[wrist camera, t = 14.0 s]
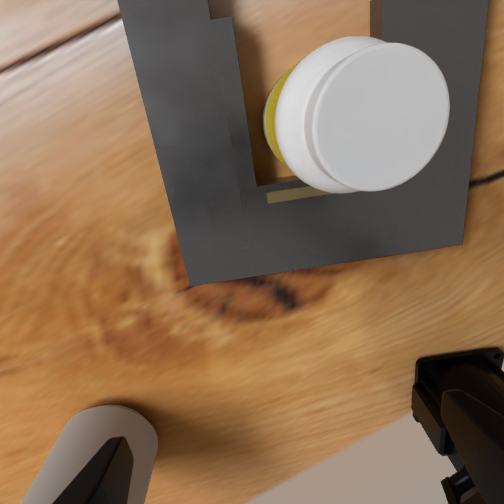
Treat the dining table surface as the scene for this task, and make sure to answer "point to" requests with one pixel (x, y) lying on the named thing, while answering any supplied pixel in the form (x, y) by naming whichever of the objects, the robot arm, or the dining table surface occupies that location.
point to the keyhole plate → (292, 188)
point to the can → (86, 446)
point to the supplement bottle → (358, 115)
